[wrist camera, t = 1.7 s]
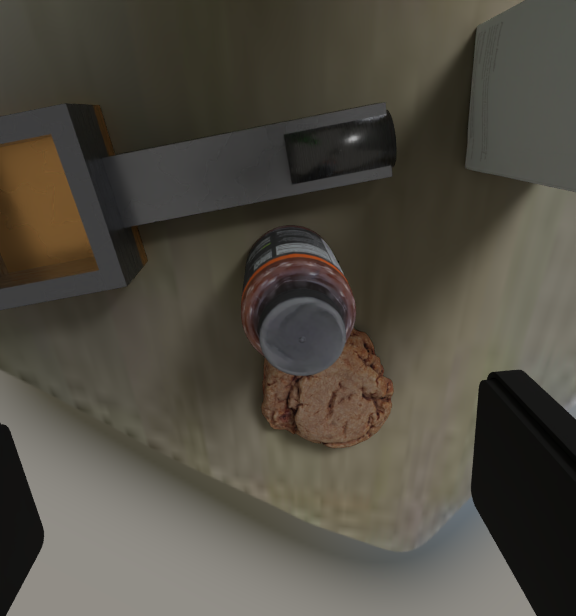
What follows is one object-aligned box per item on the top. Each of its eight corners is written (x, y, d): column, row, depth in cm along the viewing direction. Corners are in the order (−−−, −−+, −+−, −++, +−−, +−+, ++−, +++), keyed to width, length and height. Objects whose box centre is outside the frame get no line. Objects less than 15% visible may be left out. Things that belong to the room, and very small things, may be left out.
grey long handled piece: (374, 50, 27) (396, 36, 22) (390, 214, 31) (412, 232, 26) (-59, 136, 28) (-124, 141, 23) (7, 287, 31) (-38, 317, 27)
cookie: (346, 455, 38) (352, 481, 36) (232, 398, 36) (229, 422, 33) (422, 362, 35) (435, 384, 32) (303, 294, 33) (306, 310, 30)
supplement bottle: (313, 318, 33) (334, 412, 23) (233, 290, 32) (217, 374, 22) (349, 241, 31) (390, 305, 21) (264, 208, 30) (263, 258, 20)
